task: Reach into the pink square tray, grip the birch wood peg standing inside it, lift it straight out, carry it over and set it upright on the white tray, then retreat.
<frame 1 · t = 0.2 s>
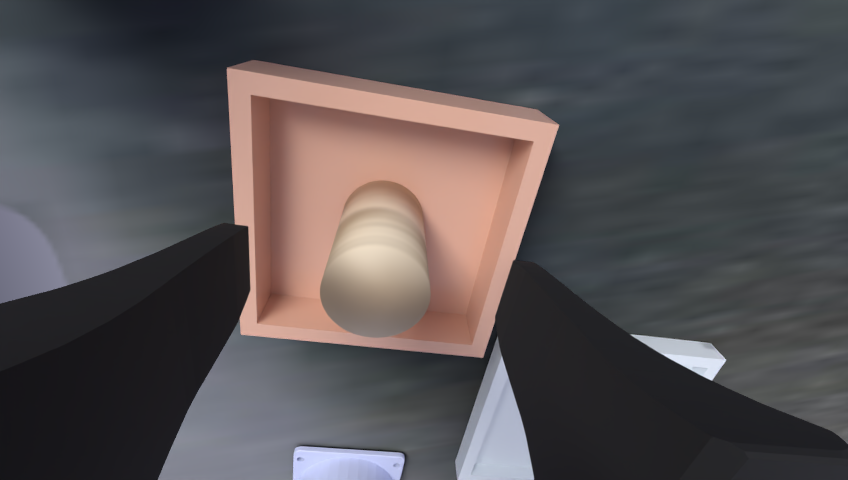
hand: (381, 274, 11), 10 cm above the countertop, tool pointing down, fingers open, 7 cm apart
birch peg: (383, 218, 20), resting on pink square tray
white tray: (571, 407, 29), on the countertop
pink square tray: (383, 213, 21), on the countertop
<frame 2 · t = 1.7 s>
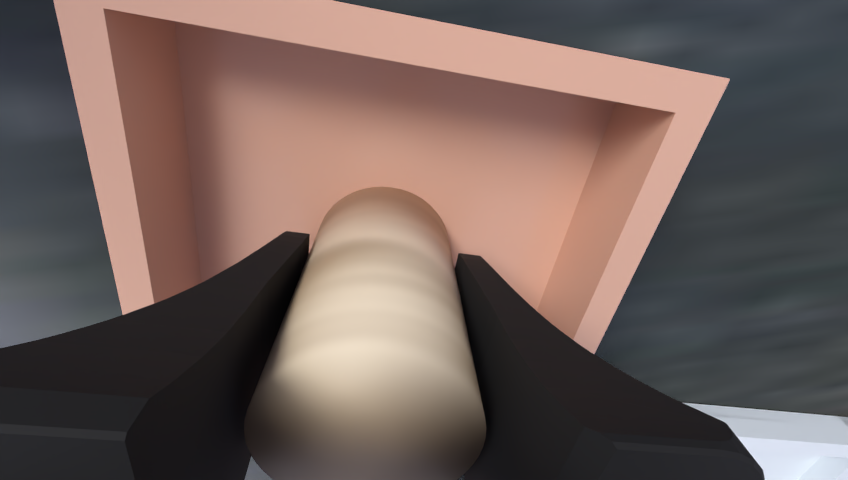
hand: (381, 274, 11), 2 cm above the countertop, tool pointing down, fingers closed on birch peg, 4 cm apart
birch peg: (383, 247, 13), resting on pink square tray, touching gripper
pink square tray: (384, 239, 13), on the countertop
when the fingers open (3 cm above the countertop, at t = 5.9 s): birch peg stays where it is, resting on white tray.
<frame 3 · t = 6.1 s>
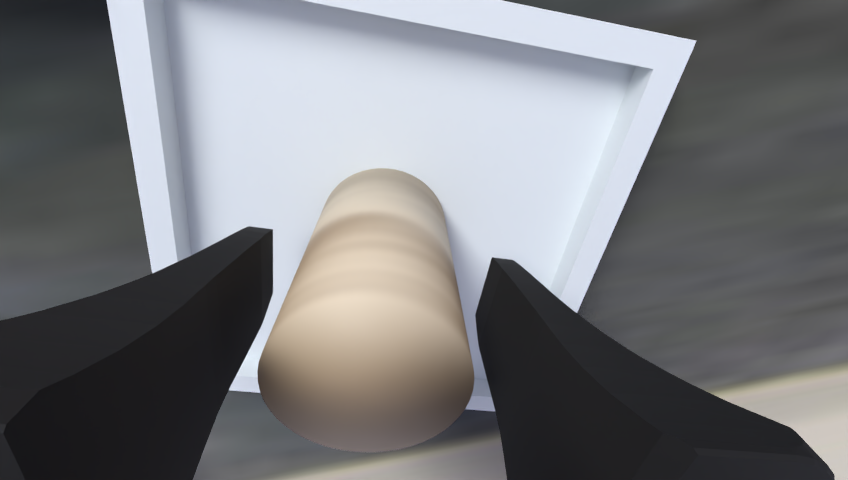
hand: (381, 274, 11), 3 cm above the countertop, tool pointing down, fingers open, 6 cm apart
birch peg: (384, 227, 13), point 1 cm above the countertop, touching white tray
white tray: (385, 224, 14), on the countertop
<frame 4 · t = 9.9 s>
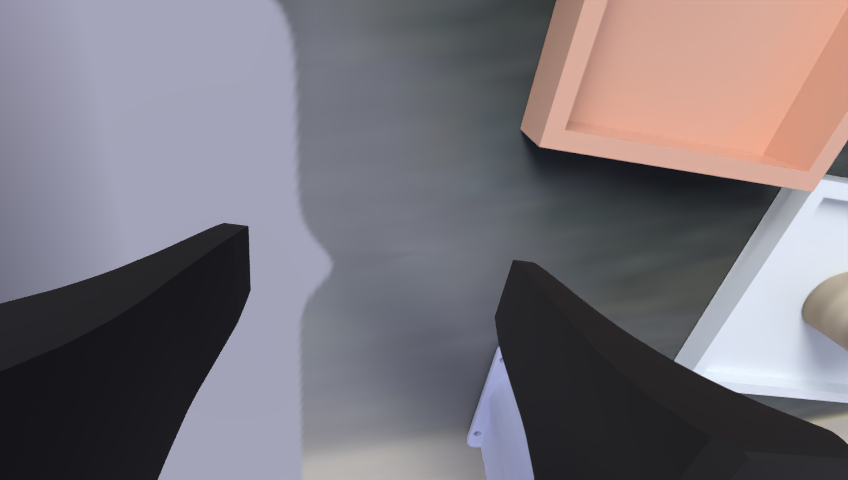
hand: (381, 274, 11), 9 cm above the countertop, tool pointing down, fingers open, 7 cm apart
birch peg: (838, 300, 24), point 1 cm above the countertop, touching white tray
white tray: (826, 296, 25), on the countertop
pink square tray: (709, 1, 17), on the countertop
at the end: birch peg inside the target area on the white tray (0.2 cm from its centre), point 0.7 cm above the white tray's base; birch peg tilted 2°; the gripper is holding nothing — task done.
